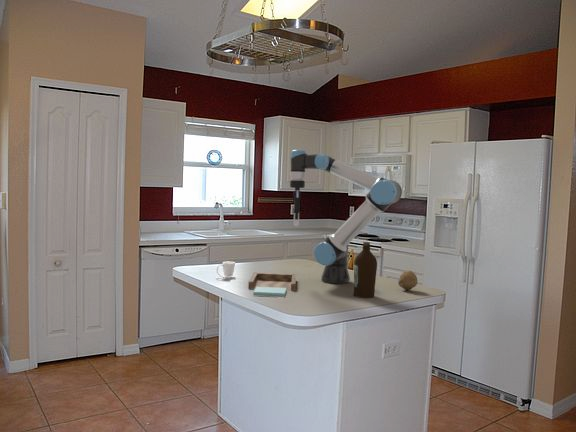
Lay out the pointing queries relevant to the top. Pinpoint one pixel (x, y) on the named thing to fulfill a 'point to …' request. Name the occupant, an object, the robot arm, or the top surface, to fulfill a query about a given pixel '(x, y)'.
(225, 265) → the cup
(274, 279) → the walnut box
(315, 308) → the top surface
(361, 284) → the olive oil
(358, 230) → the robot arm
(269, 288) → the cover plate
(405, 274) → the natural sponge
